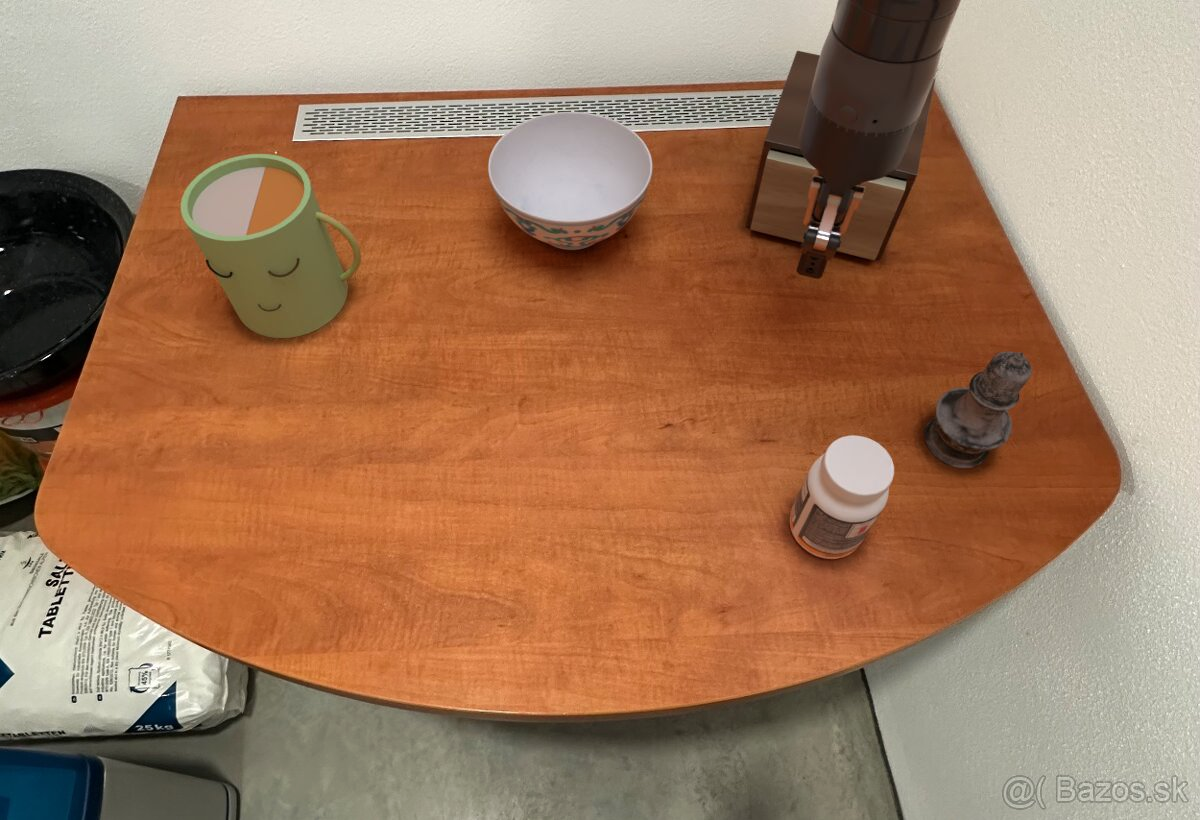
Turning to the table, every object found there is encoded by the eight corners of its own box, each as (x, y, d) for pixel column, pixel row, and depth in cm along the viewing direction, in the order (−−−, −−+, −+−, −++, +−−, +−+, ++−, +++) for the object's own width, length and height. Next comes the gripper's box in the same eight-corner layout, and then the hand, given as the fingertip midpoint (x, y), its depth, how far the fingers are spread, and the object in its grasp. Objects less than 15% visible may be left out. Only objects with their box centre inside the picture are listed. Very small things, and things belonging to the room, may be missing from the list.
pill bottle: (876, 539, 61) (922, 478, 53) (817, 574, 60) (854, 517, 52) (830, 482, 64) (866, 415, 56) (772, 514, 62) (800, 450, 54)
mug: (224, 342, 71) (164, 245, 61) (248, 256, 77) (197, 154, 67) (367, 340, 71) (331, 243, 61) (380, 254, 77) (350, 152, 67)
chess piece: (990, 480, 64) (1064, 397, 54) (916, 459, 65) (976, 373, 55) (995, 422, 67) (1066, 333, 57) (924, 402, 68) (982, 312, 58)
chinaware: (524, 163, 84) (519, 99, 78) (662, 190, 82) (668, 127, 76) (474, 263, 77) (463, 202, 70) (625, 296, 74) (629, 236, 68)
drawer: (872, 269, 76) (903, 199, 68) (747, 238, 78) (763, 166, 70) (893, 171, 83) (923, 98, 76) (778, 145, 85) (796, 72, 78)
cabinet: (880, 259, 77) (917, 175, 69) (745, 226, 80) (764, 140, 71) (899, 166, 85) (935, 78, 76) (776, 138, 87) (797, 50, 79)
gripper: (910, 167, 50) (839, 339, 65) (935, 51, 57) (865, 230, 72) (792, 141, 52) (749, 315, 66) (830, 30, 58) (783, 210, 73)
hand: (809, 270), depth 69 cm, fingers closed
